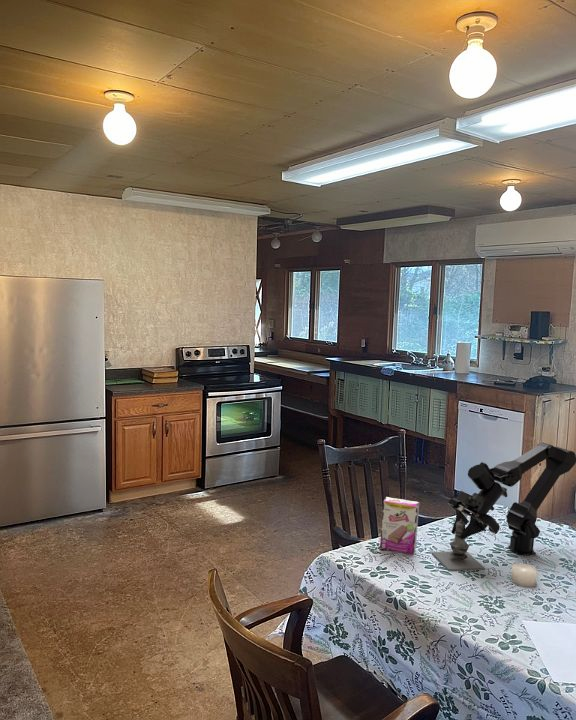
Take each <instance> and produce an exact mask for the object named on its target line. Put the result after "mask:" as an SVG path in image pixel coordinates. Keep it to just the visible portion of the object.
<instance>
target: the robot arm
mask: <svg viewBox="0 0 576 720" xmlns="http://www.w3.org/2000/svg"><path fill="white" fill-rule="evenodd" d="M544 461H545V468H544V470H543V471H542V472H541V474H540V475H539V477H538V479H537V480H536V481H535V483H534V484H533V486H532V487H531V489H529V492H528V493H527V495H526V497H525V498H524V499H523V500H522V502H519V503H518V502H516V501H515V502H513V503H512V504H511V507H510V508H509V509H508V510H507V514H506V516H505V517H506V523H507V526H508V530H511V531H512V532H511V535H510V541H509V544H508V545H507V548H508V549H510V550H511V551H513V552H514V553H515V554H516V555H518V556H521V555H523V556H524V554H528V555H536V553H537V552H536V551H534V545H535V544H534V543H535V539H536V538H539V535H540V534H541V530H540V529H539V527H538V526H537V525H536V522H537V521H538V517H537V516H538V509H539V508H540V507H541V505H542V504H543V502H544V501H545V499H546V497H547V496H548V495H549V493H550V492H551V489H552V488H553V487H554V485H555V484H556V482H557V480H558V479H559V478H560V476H562V475H565V474H566V473H569V472H570V471H571V470H572V468H573V467H575V465H576V454H575V452H574V451H572V450H570V449H567V448H563V447H560V446H554V445H552V444H550V443H546V442H538V444H536V446H535V447H533V448H532V449H530V450H528V451H527V452H525V453H523V454H522V455H521V456H519V457H517V458H515V459H513V460H511V461H504V462H501V463H498V464H496V465H495V466H494V467H492V468H490V467H489V465H488V463H485V462H483V461H482V462H480V463H479V464H476V465H473V466H472V467H470V468H469V469H468V471H467V476H468V479H470V480H471V482H473V484H474V485H475V486H476V488H477V489H478V490H480V491H479V492H478V493H477V492H473V494H469V493H467V492H465V491H462V490H460V491H459V494H458V495H457V498H455V497H453V498H450V499H449V501H448V502H447V504H448V505H449V507H451V509H452V510H453V511H454V512H455V515H456V516H455V520H454V523H453V526H452V530H451V534H452V535H455V533H454V532H455V531H456V523H457V522H458V521H460V519H462V522H464V523H465V530H464V531H463V532H462V534H461V536H460V538H461V539H464V538H465V539H466V538H468V537H471V536H473V535H476V534H479V533H481V532H487V528H488V531H489V532H491V533H492V534H494V535H497V534H498V533H499V531H500V524H499V523H498V521H497V520H496V519H494V517H493V516H492V515H489V514H488V513H489V512H490V511H492V512H493V511H495V507H494V505H495V504H496V503H497V501H498V500H499V499H500V498H501V497H504V498H507V497H508V492H507V491H508V490H507V489H508V488H507V487H509V488H510V487H514V486H516V485H517V484H518V482H520V481H521V480H522V477H523V475H524V474H525V473H526V472H527V471H529V470H531V469H533V468H534V467H536V466H537V465H539V464H540V463H542V462H544ZM502 485H504V486H507V487H504V486H502ZM468 516H469V518H470V519H468Z"/></svg>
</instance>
